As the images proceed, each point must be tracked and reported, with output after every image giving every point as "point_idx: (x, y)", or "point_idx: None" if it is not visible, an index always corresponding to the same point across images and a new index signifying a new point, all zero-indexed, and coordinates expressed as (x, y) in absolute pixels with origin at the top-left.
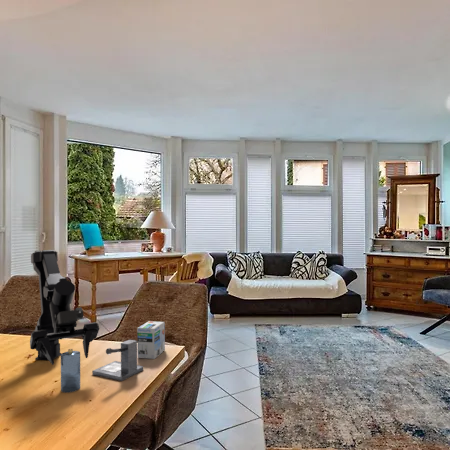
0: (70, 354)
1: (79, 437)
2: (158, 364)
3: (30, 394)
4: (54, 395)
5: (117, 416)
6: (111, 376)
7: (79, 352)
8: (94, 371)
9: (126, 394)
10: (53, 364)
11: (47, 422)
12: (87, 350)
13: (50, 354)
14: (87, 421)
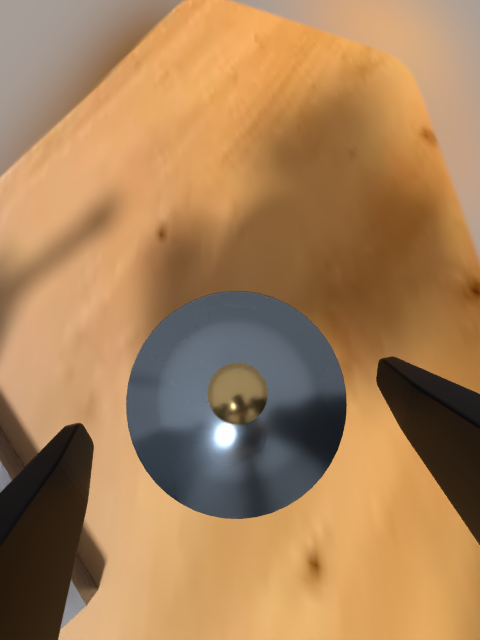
0: (238, 359)
1: (221, 26)
2: None
3: None
4: None
5: (99, 86)
6: (4, 453)
7: (134, 399)
8: (76, 586)
9: (15, 228)
10: (377, 377)
11: (312, 130)
12: (29, 474)
13: (469, 401)
14: (192, 91)
